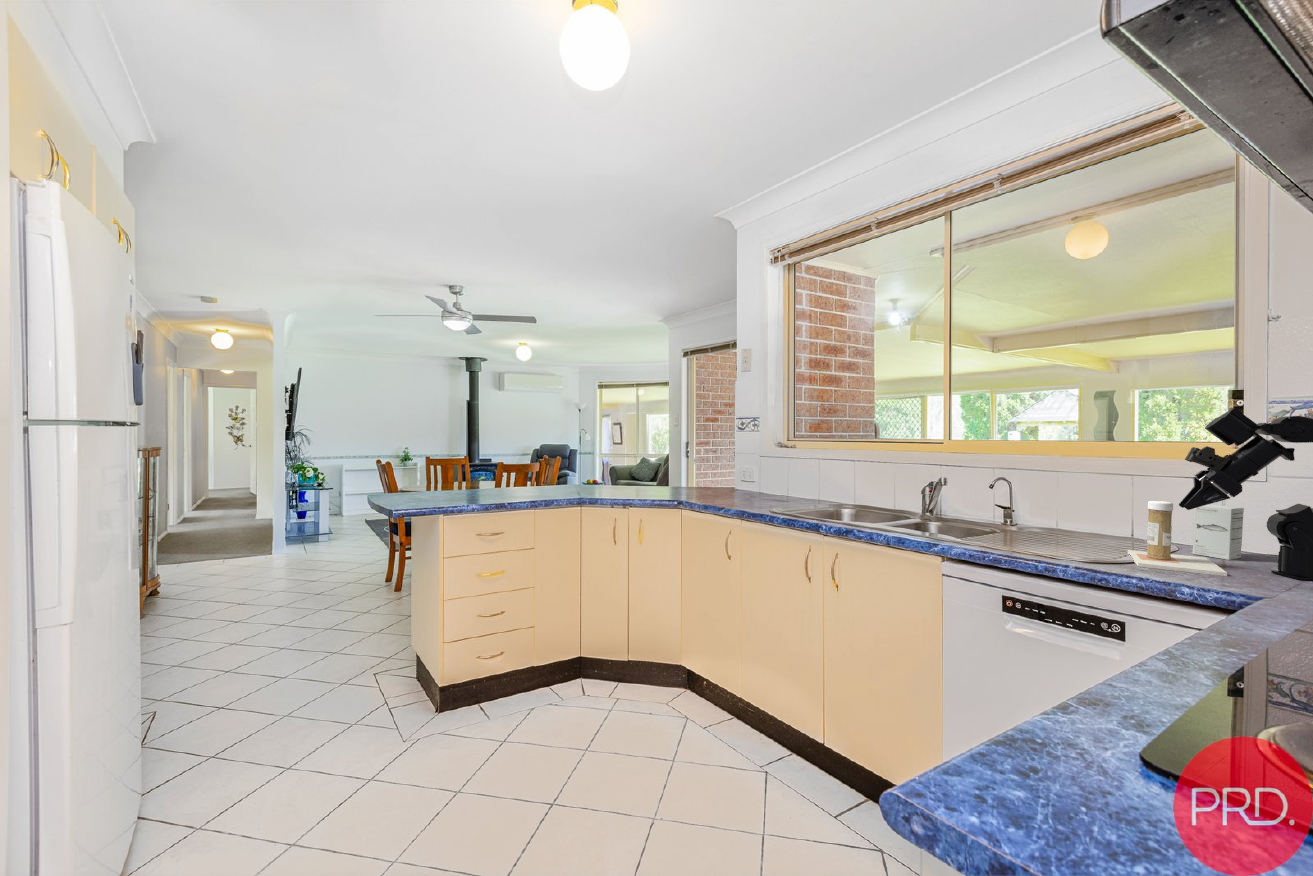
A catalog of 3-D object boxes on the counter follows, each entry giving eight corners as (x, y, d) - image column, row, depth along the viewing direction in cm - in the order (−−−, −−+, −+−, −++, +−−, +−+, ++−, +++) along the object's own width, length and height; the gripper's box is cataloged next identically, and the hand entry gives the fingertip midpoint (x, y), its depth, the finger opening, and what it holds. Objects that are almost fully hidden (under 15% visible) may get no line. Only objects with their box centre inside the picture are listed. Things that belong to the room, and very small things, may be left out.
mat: (1206, 561, 144) (1206, 557, 144) (1227, 576, 129) (1227, 572, 129) (1127, 552, 152) (1127, 549, 152) (1138, 566, 137) (1138, 562, 137)
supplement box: (1191, 554, 152) (1193, 504, 152) (1204, 552, 155) (1206, 503, 155) (1229, 560, 145) (1231, 508, 145) (1242, 557, 149) (1244, 507, 148)
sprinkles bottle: (1174, 561, 139) (1176, 503, 139) (1149, 559, 141) (1152, 502, 140) (1166, 557, 143) (1168, 501, 143) (1142, 555, 145) (1145, 499, 145)
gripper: (1206, 436, 145) (1147, 481, 151) (1220, 433, 129) (1154, 482, 135) (1252, 470, 140) (1189, 515, 146) (1272, 470, 125) (1202, 520, 130)
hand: (1182, 507), depth 139 cm, fingers open, 9 cm apart
